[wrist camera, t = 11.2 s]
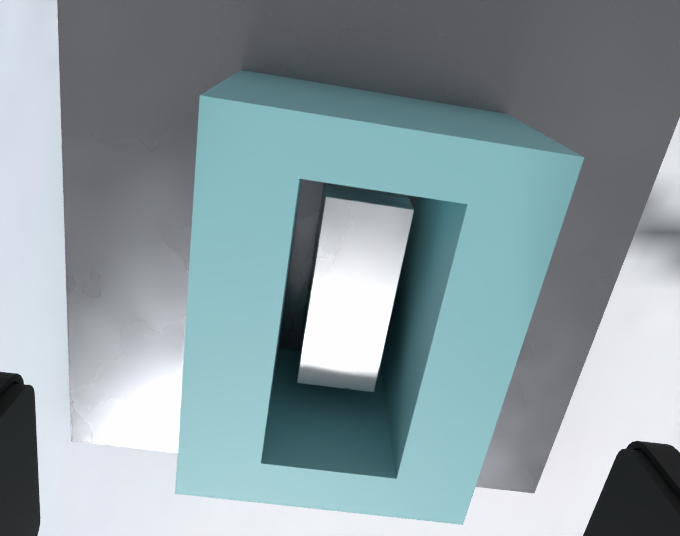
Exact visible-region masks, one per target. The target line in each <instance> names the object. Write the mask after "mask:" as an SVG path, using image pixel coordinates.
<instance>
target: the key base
mask: <svg viewBox="0 0 680 536" xmlns="http://www.w3.org/2000/svg"><path fill="white" fill-rule="evenodd" d="M57 3H58V34H59V66H60V98H61V130H62V162H63V194H64V226H65V258H66V290H67V322H68V354H69V386H70V418H71V441H76V442H85V443H93V444H102V445H111V446H120V447H129V448H138V449H147V450H156V451H164V452H173V453H178V440H179V424H180V407H181V391H182V375H183V359H184V343H185V326H186V310H187V294H188V278H189V262H190V245H191V229H192V213H193V197H194V181H195V164H196V148H197V132H198V116H199V100H200V95H201V94H203V93H204V92H206V91H208V90H209V89H211V88H212V87H214V86H216V85H217V84H219V83H220V82H222V81H224V80H225V79H227V78H228V77H230V76H232V75H233V74H235V73H236V72H238V71H240V70H244V71H250V72H256V73H262V74H268V75H274V76H280V77H286V78H292V79H298V80H305V81H311V82H317V83H323V84H329V85H335V86H341V87H347V88H353V89H359V90H365V91H371V92H377V93H383V94H389V95H395V96H401V97H407V98H413V99H419V100H425V101H431V102H437V103H444V104H450V105H456V106H462V107H468V108H474V109H480V110H486V111H492V112H498V113H504V114H508V115H510V116H512V117H514V118H515V119H517V120H519V121H521V122H523V123H524V124H526V125H528V126H530V127H531V128H533V129H535V130H537V131H539V132H540V133H542V134H544V135H546V136H547V137H549V138H551V139H553V140H555V141H556V142H558V143H560V144H562V145H563V146H565V147H567V148H569V149H570V150H572V151H574V152H576V153H578V154H579V155H581V156H583V157H584V160H583V163H582V166H581V169H580V172H579V175H578V178H577V181H576V184H575V187H574V190H573V193H572V196H571V200H570V203H569V206H568V209H567V212H566V215H565V218H564V221H563V224H562V227H561V230H560V233H559V236H558V239H557V242H556V245H555V248H554V251H553V254H552V257H551V260H550V263H549V266H548V269H547V272H546V275H545V278H544V281H543V284H542V287H541V290H540V293H539V296H538V299H537V302H536V305H535V308H534V311H533V314H532V317H531V320H530V323H529V326H528V329H527V332H526V335H525V338H524V341H523V344H522V347H521V350H520V353H519V356H518V359H517V362H516V366H515V369H514V372H513V375H512V378H511V381H510V384H509V387H508V390H507V393H506V396H505V399H504V402H503V405H502V408H501V411H500V414H499V417H498V420H497V423H496V426H495V429H494V432H493V435H492V438H491V441H490V444H489V447H488V450H487V453H486V456H485V459H484V462H483V465H482V468H481V471H480V474H479V477H478V480H477V483H476V486H475V487H483V488H492V489H501V490H510V491H519V492H528V493H535V490H536V487H537V485H538V482H539V480H540V477H541V474H542V472H543V469H544V467H545V464H546V462H547V459H548V456H549V454H550V451H551V449H552V446H553V443H554V441H555V438H556V436H557V433H558V430H559V428H560V425H561V423H562V420H563V418H564V415H565V412H566V410H567V407H568V405H569V402H570V399H571V397H572V394H573V392H574V389H575V386H576V384H577V381H578V379H579V376H580V373H581V371H582V368H583V366H584V363H585V361H586V358H587V355H588V353H589V350H590V348H591V345H592V342H593V340H594V337H595V335H596V332H597V329H598V327H599V324H600V322H601V319H602V317H603V314H604V311H605V309H606V306H607V304H608V301H609V298H610V296H611V293H612V291H613V288H614V285H615V283H616V280H617V278H618V275H619V272H620V270H621V267H622V265H623V262H624V260H625V257H626V254H627V252H628V249H629V247H630V244H631V241H632V239H633V236H634V234H635V231H636V228H637V226H638V223H639V221H640V218H641V216H642V213H643V210H644V208H645V205H646V203H647V200H648V197H649V195H650V192H651V190H652V187H653V184H654V182H655V179H656V177H657V174H658V172H659V169H660V166H661V164H662V161H663V159H664V156H665V153H666V151H667V148H668V146H669V143H670V140H671V138H672V135H673V133H674V130H675V127H676V125H677V122H678V120H679V117H680V0H57ZM415 200H416V196H410V195H404V194H397V193H390V192H384V191H377V190H371V189H364V188H358V187H351V186H344V185H338V184H331V183H325V182H318V181H312V180H305V179H302V181H301V188H300V195H299V202H298V210H297V217H296V224H295V232H294V239H293V246H292V253H291V261H290V268H289V275H288V283H287V290H286V297H285V304H284V312H283V319H282V326H281V334H280V341H279V348H278V349H284V350H292V351H300V357H299V368H298V379H297V383H304V384H312V385H320V386H328V387H337V388H345V389H353V390H361V391H369V392H374V389H375V384H376V380H377V375H378V371H379V366H380V362H381V357H382V353H383V348H384V343H385V339H386V334H387V330H388V325H389V321H390V316H391V312H392V307H393V303H394V298H395V294H396V289H397V285H398V280H399V276H400V271H401V266H402V262H403V257H404V253H405V248H406V244H407V239H408V235H409V230H410V226H411V221H412V217H413V212H414V205H415Z"/></svg>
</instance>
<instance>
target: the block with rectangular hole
mask: <svg viewBox="0 0 680 536" xmlns="http://www.w3.org/2000/svg"><path fill="white" fill-rule="evenodd" d="M583 160H584V157H583V156H581V155H579V154H578V153H576V152H574V151H572V150H570V149H569V148H567V147H565V146H563V145H562V144H560V143H558V142H556V141H555V140H553V139H551V138H549V137H547V136H546V135H544V134H542V133H540V132H539V131H537V130H535V129H533V128H531V127H530V126H528V125H526V124H524V123H523V122H521V121H519V120H517V119H515V118H514V117H512V116H510V115H508V114H504V113H498V112H492V111H486V110H480V109H474V108H468V107H462V106H456V105H450V104H444V103H437V102H431V101H425V100H419V99H413V98H407V97H401V96H395V95H389V94H383V93H377V92H371V91H365V90H359V89H353V88H347V87H341V86H335V85H329V84H323V83H317V82H311V81H305V80H298V79H292V78H286V77H280V76H274V75H268V74H262V73H256V72H250V71H244V70H240V71H238V72H236V73H235V74H233V75H232V76H230V77H228V78H227V79H225V80H224V81H222V82H220V83H219V84H217V85H216V86H214V87H212V88H211V89H209V90H208V91H206V92H204V93H203V94H201V95H200V100H199V116H198V132H197V148H196V164H195V181H194V197H193V213H192V229H191V245H190V262H189V278H188V294H187V310H186V326H185V343H184V359H183V375H182V391H181V407H180V424H179V440H178V456H177V472H176V488H175V494H183V495H193V496H202V497H211V498H221V499H230V500H239V501H248V502H258V503H267V504H276V505H286V506H295V507H304V508H313V509H323V510H332V511H341V512H351V513H360V514H369V515H378V516H388V517H397V518H406V519H416V520H425V521H434V522H444V523H453V524H462V525H463V522H464V519H465V516H466V513H467V510H468V507H469V504H470V501H471V498H472V495H473V492H474V489H475V486H476V483H477V480H478V477H479V474H480V471H481V468H482V465H483V462H484V459H485V456H486V453H487V450H488V447H489V444H490V441H491V438H492V435H493V432H494V429H495V426H496V423H497V420H498V417H499V414H500V411H501V408H502V405H503V402H504V399H505V396H506V393H507V390H508V387H509V384H510V381H511V378H512V375H513V372H514V369H515V366H516V362H517V359H518V356H519V353H520V350H521V347H522V344H523V341H524V338H525V335H526V332H527V329H528V326H529V323H530V320H531V317H532V314H533V311H534V308H535V305H536V302H537V299H538V296H539V293H540V290H541V287H542V284H543V281H544V278H545V275H546V272H547V269H548V266H549V263H550V260H551V257H552V254H553V251H554V248H555V245H556V242H557V239H558V236H559V233H560V230H561V227H562V224H563V221H564V218H565V215H566V212H567V209H568V206H569V203H570V200H571V196H572V193H573V190H574V187H575V184H576V181H577V178H578V175H579V172H580V169H581V166H582V163H583ZM302 179H305V180H312V181H318V182H325V183H331V184H338V185H344V186H351V187H358V188H364V189H371V190H377V191H384V192H390V193H397V194H404V195H410V196H416V200H415V205H414V212H413V217H412V221H411V226H410V230H409V235H408V239H407V244H406V248H405V253H404V257H403V262H402V266H401V271H400V276H399V280H398V285H397V289H396V294H395V298H394V303H393V307H392V312H391V316H390V321H389V325H388V330H387V334H386V339H385V343H384V348H383V353H382V357H381V362H380V366H379V371H378V375H377V380H376V384H375V389H374V392H369V391H361V390H353V389H345V388H337V387H328V386H320V385H312V384H304V383H297V379H298V368H299V357H300V351H292V350H284V349H278V348H279V341H280V334H281V326H282V319H283V312H284V304H285V297H286V290H287V283H288V275H289V268H290V261H291V253H292V246H293V239H294V232H295V224H296V217H297V210H298V202H299V195H300V188H301V181H302Z"/></svg>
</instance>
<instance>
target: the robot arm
mask: <svg viewBox="0 0 680 536" xmlns="http://www.w3.org/2000/svg"><path fill="white" fill-rule="evenodd" d="M39 526H40V503H39V480H38V458H37V436H36V413H35V393H34V389H33V387H32V386H31V385H24V382H23V379H22V377H21V375H19V374H15V373H5V372H0V536H37V535H38V531H39ZM583 536H680V453H679V451H678V450H677V449H675V448H674V447H673V446H671V445H668V444H660V443H650V442H641V441H635V442H632V443H630V444H629V445H628V447H627V448H626V449H622V450H621V451H619V453H618V454H617V456H616V458H615V461H614V463H613V466H612V468H611V470H610V473H609V475H608V478H607V480H606V482H605V485H604V487H603V489H602V492H601V494H600V497H599V499H598V501H597V504H596V506H595V508H594V511H593V513H592V516H591V518H590V520H589V523H588V525H587V528H586V530H585V532H584V535H583Z"/></svg>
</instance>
